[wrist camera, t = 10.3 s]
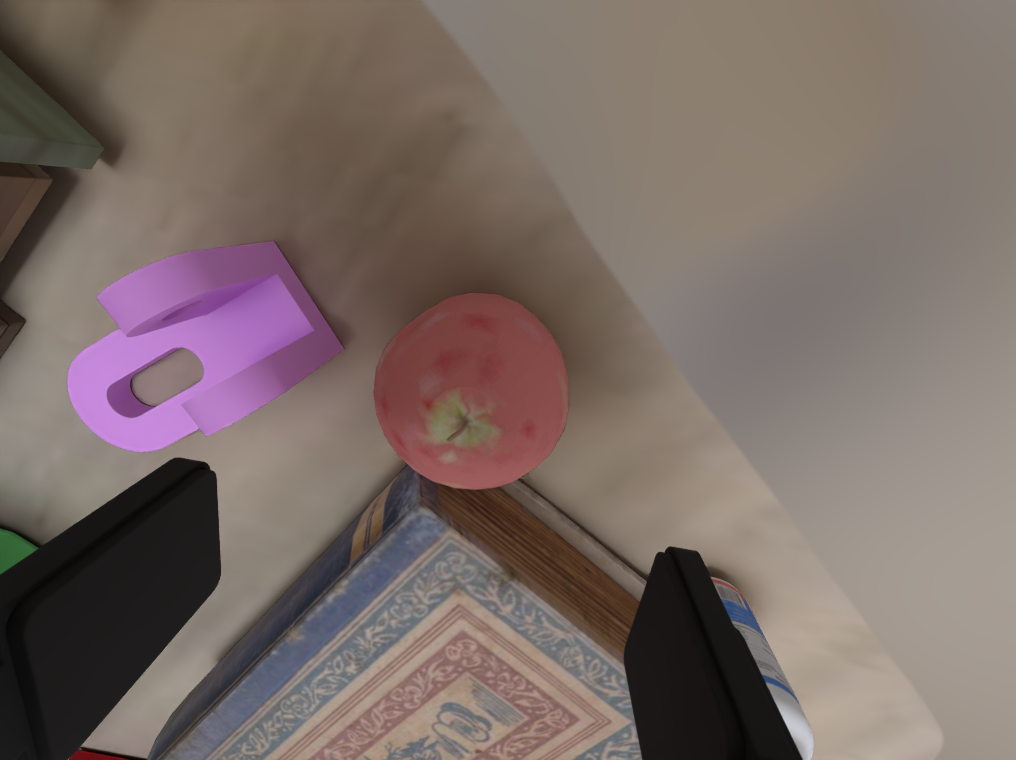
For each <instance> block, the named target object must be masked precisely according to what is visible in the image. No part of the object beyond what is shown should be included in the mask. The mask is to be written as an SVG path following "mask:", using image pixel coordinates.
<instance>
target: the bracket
mask: <svg viewBox="0 0 1016 760" xmlns="http://www.w3.org/2000/svg"><path fill="white" fill-rule="evenodd" d="M97 300H98V301H99V302H100V304H101V305H102V306H103V307H104V309H105V310H106V311H107V312H108V314H109V315H110V316H111V318H112V319H113V320H114V321H115V323H116V324H117V325H118V326H119V329H117V330H115V331H114V332H112V333H111V334H109V335H107V336H106V337H104V338H103V339H101V340H99V341H98V342H96V343H94V344H93V345H91V346H90V347H88V348H86V349H85V350H83V351H82V352H81V353H79V354H78V355H77V356H76V358H75V359H74V360H73V362H72V364H71V366H70V368H69V372H68V379H67V385H68V392H69V396H70V399H71V402H72V404H73V406H74V408H75V410H76V412H77V414H78V415H79V417H80V418H81V419H82V421H83V422H84V423H85V424H86V425H87V426H88V427H89V428H90V429H91V430H92V431H93V432H94V433H95V434H96V435H98V436H99V437H100V438H102V439H103V440H105V441H107V442H108V443H110V444H112V445H114V446H117V447H119V448H122V449H125V450H129V451H135V452H151V451H156V450H159V449H162V448H164V447H166V446H168V445H170V444H171V443H173V442H175V441H177V440H179V439H181V438H183V437H185V436H186V435H188V434H190V433H192V432H194V431H196V430H198V429H201V431H202V432H203V433H204V434H205V436H209V435H211V434H214V433H216V432H218V431H220V430H222V429H224V428H226V427H227V426H229V425H231V424H233V423H235V422H237V421H238V420H240V419H242V418H244V417H245V416H247V415H249V414H251V413H252V412H254V411H256V410H257V409H259V408H261V407H262V406H264V405H266V404H267V403H269V402H270V401H272V400H274V399H275V398H277V397H278V396H280V395H281V394H283V393H284V392H286V391H287V390H289V389H290V388H292V387H293V386H294V385H296V384H297V383H298V382H300V381H301V380H303V379H304V378H305V377H307V376H308V375H309V374H311V373H312V372H313V371H315V370H316V369H318V368H319V367H320V366H322V365H323V364H324V363H326V362H327V361H328V360H330V359H331V358H333V357H334V356H335V355H337V354H338V353H339V352H341V351H342V350H344V348H343V346H342V345H341V343H340V342H339V340H338V339H337V337H336V335H335V334H334V332H333V331H332V329H331V328H330V326H329V325H328V323H327V322H326V320H325V319H324V317H323V316H322V314H321V313H320V311H319V309H318V308H317V306H316V305H315V303H314V302H313V300H312V299H311V297H310V296H309V294H308V293H307V291H306V290H305V288H304V286H303V285H302V283H301V282H300V280H299V279H298V277H297V276H296V274H295V273H294V271H293V270H292V268H291V267H290V265H289V264H288V262H287V260H286V259H285V257H284V256H283V254H282V253H281V251H280V250H279V248H278V247H277V245H276V244H275V242H274V241H270V242H262V243H254V244H246V245H237V246H229V247H221V248H213V249H205V250H196V251H190V252H186V253H182V254H178V255H175V256H171V257H168V258H165V259H163V260H160V261H157V262H155V263H152V264H150V265H147V266H145V267H143V268H140V269H138V270H136V271H134V272H132V273H130V274H128V275H126V276H124V277H122V278H120V279H119V280H117V281H115V282H114V283H112V284H111V285H109V286H108V287H106V288H105V289H104V290H103V291H102V292H101V293H100V294H99V295H98V297H97ZM179 348H186V349H188V350H190V351H192V352H194V353H195V354H196V355H197V356H198V357H199V359H200V360H201V362H202V364H203V367H204V375H203V378H202V380H201V381H200V382H199V383H197V384H196V385H194V386H192V387H190V388H188V389H187V390H185V391H183V392H181V393H180V394H178V395H176V396H174V397H172V398H171V399H169V400H167V401H165V402H163V403H162V404H160V405H158V406H155V407H152V406H147V405H145V404H143V403H141V402H140V401H138V400H137V399H136V398H135V396H134V395H133V393H132V391H131V388H130V381H131V379H132V377H133V376H134V375H135V374H137V373H138V372H140V371H142V370H144V369H145V368H147V367H149V366H150V365H152V364H154V363H156V362H157V361H159V360H161V359H162V358H164V357H166V356H167V355H169V354H171V353H173V352H174V351H176V350H178V349H179Z"/></svg>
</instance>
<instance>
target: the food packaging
mask: <svg viewBox="0 0 1016 760" xmlns="http://www.w3.org/2000/svg"><path fill="white" fill-rule="evenodd" d="M69 760H129V759H124V758H118V757H113V756H108V755H102V754H97V753H91V752H86V751H80V750H77V751H76V752H75V753H74V754H73V755H72V756H71V757H70V759H69Z"/></svg>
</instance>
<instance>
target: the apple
mask: <svg viewBox="0 0 1016 760" xmlns="http://www.w3.org/2000/svg"><path fill="white" fill-rule="evenodd" d="M374 400H375V407H376V413H377V417H378V419H379V422H380V424H381V427H382V430H383V432H384V435H385V437H386V438H387V440H388V441H389V443H390V444H391V446H392V447H393V449H394V450H395V452H396V453H397V455H398V456H399V457H401V458H402V459H403V460H404V461H405V462H406V463H407V464H408V465H409V466H410V467H411V468H412V469H413V470H415V471H416V472H418V473H420V474H421V475H423V476H425V477H426V478H428V479H430V480H431V481H433V482H436V483H439V484H443V485H446V486H450V487H453V488H461V489H475V490H478V489H486V488H495V487H499V486H502V485H505V484H508V483H511V482H514V481H516V480H517V479H519V478H520V477H522V476H524V475H525V474H527V473H528V472H530V471H532V470H533V469H535V468H536V467H537V466H538V465H539V464H540V463H541V462H542V461H543V460H544V459H545V458H546V457H547V456H548V455H549V454H550V453H551V452H552V450H553V448H554V447H555V445H556V443H557V442H558V440H559V438H560V437H561V435H562V433H563V431H564V428H565V424H566V419H567V414H568V410H569V383H568V376H567V372H566V367H565V363H564V358H563V356H562V354H561V352H560V350H559V348H558V346H557V344H556V342H555V340H554V338H553V336H552V335H551V334H550V332H549V331H548V330H547V329H546V328H545V326H544V325H543V324H542V323H541V322H540V320H539V319H538V318H537V317H536V316H534V315H533V314H532V313H531V312H529V311H528V310H527V309H526V308H525V307H523V306H522V305H521V304H520V303H517V302H515V301H512V300H510V299H507V298H505V297H502V296H500V295H498V294H485V293H468V294H463V295H459V296H454V297H449V298H447V299H445V300H443V301H441V302H440V303H438V304H436V305H434V306H433V307H431V308H429V309H427V310H426V311H424V312H423V313H422V314H420V315H419V316H418V317H417V318H415V319H414V320H413V321H411V322H410V323H409V324H407V325H406V326H405V327H403V328H402V329H401V330H400V332H399V333H398V334H397V335H396V336H395V337H394V338H393V339H392V340H391V341H390V342H389V343H388V344H387V345H386V347H385V349H384V352H383V354H382V356H381V358H380V360H379V363H378V365H377V367H376V376H375V384H374Z"/></svg>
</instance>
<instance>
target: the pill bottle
mask: <svg viewBox="0 0 1016 760" xmlns="http://www.w3.org/2000/svg"><path fill="white" fill-rule="evenodd" d="M710 577H711V576H710ZM711 579H712V581H713V583H714V585H715V587H716V589H717V591H718V594H719V596H720V598H721V600H722V602H723V604H724V606H725V608H726V610H727V613H728V615H729V617H730V619H731V621H732V623H733V625H734V627H736V628H737V629H738V630H739V631H740V632H741V634H742V635H743V637H744V639H745V641H746V643H747V645H748V647H749V649H750V651H751V653H752V655H753V657H754V659H755V661H756V663H757V666H758V668H759V670H760V672H761V674H762V676H763V678H764V680H765V682H766V684H767V686H768V688H769V690H770V692H771V694H772V696H773V699H774V701H775V703H776V705H777V707H778V709H779V711H780V713H781V715H782V717H783V719H784V721H785V723H786V725H787V727H788V729H789V732H790V734H791V736H792V738H793V740H794V742H795V744H796V746H797V748H798V750H799V752H800V754H801V756H802V758H803V760H811V758H812V755H813V748H814V741H813V734H812V731H811V727H810V725H809V723H808V721H807V718H806V716H805V714H804V712H803V710H802V708H801V706H800V704H799V702H798V700H797V698H796V696H795V694H794V692H793V690H792V688H791V687H790V685H789V683H788V681H787V679H786V677H785V675H784V673H783V671H782V669H781V667H780V666H779V664H778V662H777V660H776V658H775V656H774V654H773V652H772V650H771V648H770V646H769V644H768V642H767V640H766V638H765V636H764V635H763V633H762V631H761V629H760V627H759V625H758V623H757V621H756V619H755V617H754V615H753V613H752V611H751V609H750V607H749V605H748V604H747V602H746V600H745V599H744V597H743V595H742V594H741V593H740V592H739V591H738V590H737V589H736V588H735V587H734V586H732V585H731V584H729V583H728V582H726V581H724V580H721V579H718V578H715V577H711Z"/></svg>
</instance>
